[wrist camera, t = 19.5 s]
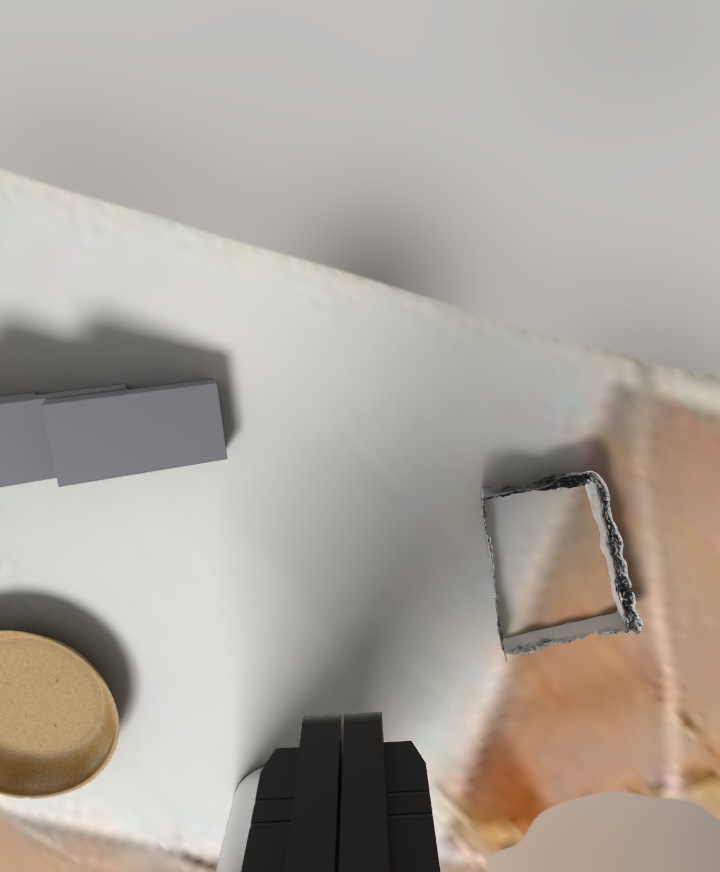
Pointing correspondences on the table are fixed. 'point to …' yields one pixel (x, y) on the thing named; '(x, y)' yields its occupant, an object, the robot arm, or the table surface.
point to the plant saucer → (51, 717)
